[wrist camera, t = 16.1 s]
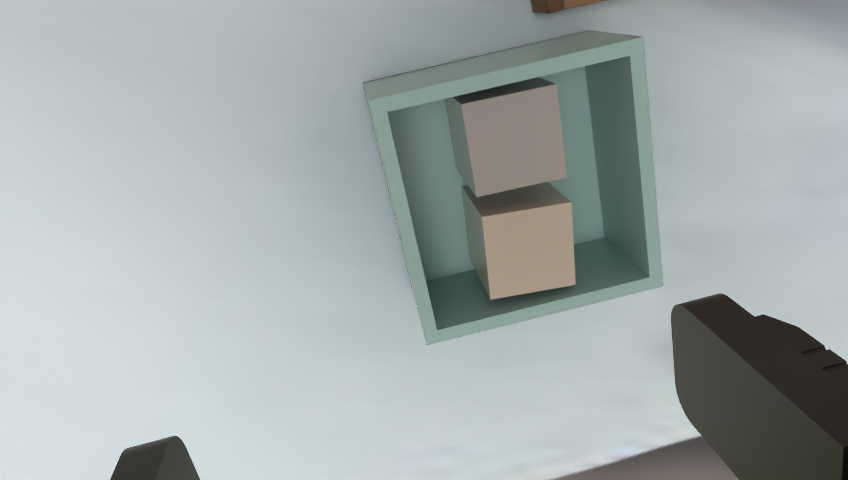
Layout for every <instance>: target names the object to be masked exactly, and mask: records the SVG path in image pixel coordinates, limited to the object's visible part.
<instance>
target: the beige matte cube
mask: <svg viewBox="0 0 848 480" xmlns="http://www.w3.org/2000/svg"><path fill="white" fill-rule="evenodd" d="M461 188H462V197H463V206H464V214H465V223H466V232H467V241H468V250H469V259H470V261H471V263H472V265H473V267H474V269H475V271H476V273H477V275H478V276H479V278H480V280H481V282H482V284H483V286H484V288H485V290H486V292H487V294H488V296H489V298H490V300H492V299H497V298H503V297H509V296H515V295H520V294H526V293H532V292H538V291H543V290H549V289H555V288H560V287H566V286H572V285H576V279H575V259H574V239H573V219H572V202H571V201H570V200H569V199H567V198H566V197H565V196H564V195H563V194H562V193H560V192H559V191H558V190H557V189H556V188H555V187H553V186H552V185H551V184H550V183H549V182H544V183H539V184H534V185H530V186H525V187H521V188H516V189H512V190H507V191H503V192H498V193H494V194H489V195H484V196H480V197H476V196H475V194H474V193H473V191H472V190H471V189H470V187H469V186H468V185H466V186H461Z"/></svg>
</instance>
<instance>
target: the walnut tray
mask: <svg viewBox="0 0 848 480" xmlns="http://www.w3.org/2000/svg"><path fill="white" fill-rule="evenodd" d="M601 1H605V0H531V3H532V11H533V12H536V13H553V12H557V11H562V10H566V9H570V8H575V7H579V6H583V5H588V4H592V3H597V2H601Z"/></svg>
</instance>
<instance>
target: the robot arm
mask: <svg viewBox="0 0 848 480" xmlns="http://www.w3.org/2000/svg"><path fill="white" fill-rule="evenodd" d="M671 326H672V341H673V356H674V371H675V384H676V390H677V394H678V398H679V401H680V403H681V406H682V408H683V410H684V412H685V414H686V416H687V418H688V419H689V421H690V422H691V423H692V425H693V426H694V427H695V428H696V429H697V430H698V432H699V433H700V434H701V435H702V436H703V438H704V439H705V440H706V441H707V442H708V443H709V445H710V446H711V447H712V448H713V449H714V451H716V453H717V454H718V455H719V456H720V457H721V459H722V460H723V461H724V462H725V463H726V465H727V466H728V467H729V468H730V469H731V471H732V472H733V473H734V474H735V475H736V476H737V478H738V479H739V480H848V365H847V363H846V361H845V360H844V359H842V358H841V357H839V356H838V355H837V354H835V353H834V352H832V351H831V350H830V349H829V350H826V349H825V347H824V345H823V344H821V343H820V342H818V341H817V340H816V339H814V338H813V337H811V336H810V335H809V334H807V333H806V332H804V331H803V330H802V329H800V328H799V327H797V326H794V325H791V324H788V323H786V322H783V321H780V320H777V319H775V318H772V317H769V316H767V315H760V316H756V317H754V316H753V315H751V314H750V313H749V312H747V311H746V310H745V309H744V308H742V307H741V306H740V305H738V304H737V303H736V302H734V301H733V300H732V299H730V298H729V297H728V296H726V295H724V294H716V295H712V296H708V297H704V298H701V299H697V300H693V301H689V302H685V303H682V304H678V305H675V306H674V307H673V309H672V312H671ZM110 480H200V478H199V476H198V474H197V472H196V469H195V467H194V465H193V462H192V460H191V458H190V456H189V453H188V451H187V449H186V447H185V445H184V443H183V441H182V440H181V439H180V438H179V437H177V436H172V437H168V438H164V439H161V440H157V441H153V442H149V443H145V444H142V445H138V446H134V447H130V448H127V449H125V450H124V451H123V452H122V454H121V456H120V458H119V461H118V463H117V465H116V468H115V470H114V472H113V475H112V477H111V479H110Z"/></svg>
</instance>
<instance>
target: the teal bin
mask: <svg viewBox="0 0 848 480" xmlns="http://www.w3.org/2000/svg"><path fill="white" fill-rule="evenodd" d="M536 77H539V78H542V79H545V80H547V81H550V82H552V83H555V84H557V91H558V100H559V109H560V118H561V127H562V136H563V145H564V154H565V163H566V172H567V177H566V178H562V179H557V180H553V181H548V182H549V183H550V184H551V185H552V186H553V187H555V188H556V189H557V190H558V191H559V192H560V193H562V194H563V195H564V196H565V197H566V198H567V199H569V200H570V201H571V202H572V219H573V239H574V259H575V279H576V285H572V286H566V287H560V288H555V289H549V290H543V291H538V292H532V293H526V294H520V295H515V296H509V297H503V298H497V299H492V300H490V298H489V296H488V294H487V292H486V290H485V288H484V286H483V284H482V282H481V280H480V278H479V276H478V275H477V273H476V271H475V269H474V267H473V265H472V263H471V261H470V259H469V250H468V241H467V232H466V223H465V214H464V206H463V197H462V188H461V186H466V185H468V184H467V183H466V182H465V180H464V179H463V177H462V176H461V175H460V173H459V172H458V170H457V169H456V163H455V157H454V152H453V146H452V140H451V134H450V129H449V123H448V117H447V112H446V106H445V100H444V99H446V98H450V97H455V96H459V95H463V94H468V93H472V92H476V91H480V90H485V89H489V88H493V87H498V86H502V85H506V84H510V83H515V82H519V81H523V80H528V79H532V78H536ZM363 85H364V89H365V94H366V98H367V102H368V106H369V110H370V114H371V119H372V123H373V127H374V131H375V135H376V140H377V144H378V148H379V152H380V156H381V160H382V165H383V169H384V173H385V177H386V181H387V185H388V190H389V194H390V198H391V202H392V206H393V211H394V215H395V219H396V223H397V227H398V231H399V236H400V240H401V244H402V248H403V252H404V256H405V261H406V265H407V269H408V273H409V277H410V282H411V286H412V290H413V294H414V298H415V301H416V305H417V309H418V313H419V317H420V320H421V324H422V328H423V332H424V336H425V340H426V343H427V345H429V344H433V343H437V342H441V341H445V340H449V339H453V338H457V337H461V336H465V335H469V334H473V333H477V332H481V331H485V330H489V329H493V328H497V327H501V326H505V325H509V324H513V323H517V322H521V321H525V320H529V319H533V318H537V317H541V316H545V315H549V314H553V313H557V312H561V311H565V310H569V309H573V308H577V307H581V306H585V305H589V304H593V303H597V302H601V301H605V300H609V299H613V298H617V297H621V296H625V295H629V294H633V293H637V292H641V291H645V290H649V289H653V288H657V287H661V286H663V276H662V264H661V251H660V239H659V227H658V214H657V202H656V190H655V178H654V165H653V153H652V141H651V128H650V116H649V104H648V91H647V79H646V67H645V54H644V42H643V37H639V36H631V35H623V34H614V33H606V32H598V31H589V30H588V31H584V32H580V33H575V34H571V35H567V36H562V37H558V38H554V39H549V40H545V41H541V42H536V43H532V44H528V45H523V46H519V47H515V48H510V49H506V50H502V51H498V52H493V53H489V54H485V55H480V56H476V57H472V58H467V59H463V60H459V61H454V62H450V63H446V64H441V65H437V66H433V67H428V68H424V69H420V70H415V71H411V72H407V73H402V74H398V75H394V76H389V77H385V78H381V79H376V80H372V81H368V82H363Z"/></svg>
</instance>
